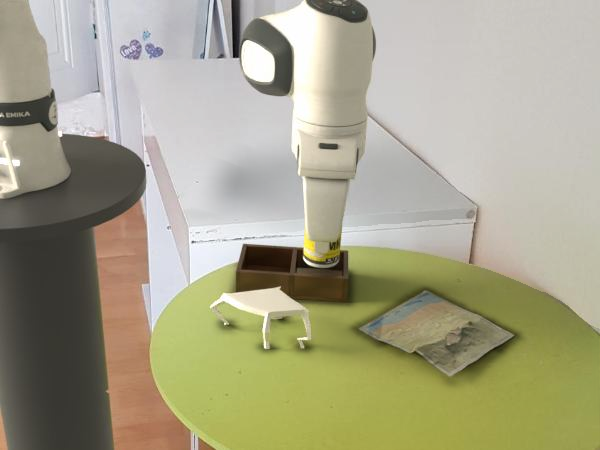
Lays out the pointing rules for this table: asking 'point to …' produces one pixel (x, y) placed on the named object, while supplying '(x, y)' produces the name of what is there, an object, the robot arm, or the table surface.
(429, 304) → the topographic map
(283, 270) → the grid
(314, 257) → the supplement bottle
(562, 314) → the table surface
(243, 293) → the origami figure
